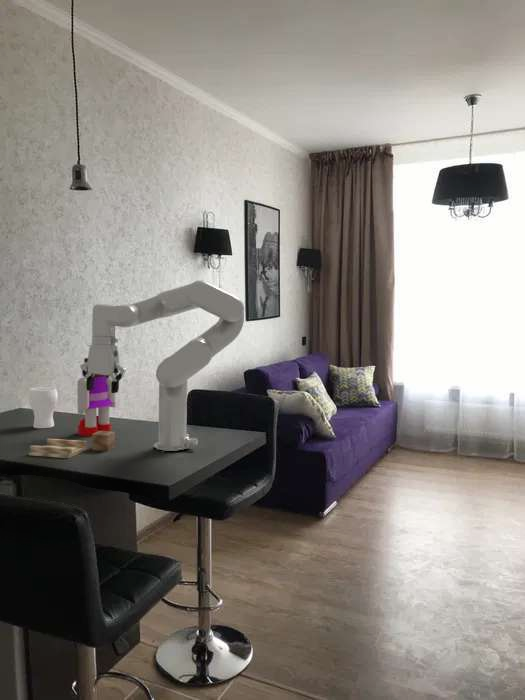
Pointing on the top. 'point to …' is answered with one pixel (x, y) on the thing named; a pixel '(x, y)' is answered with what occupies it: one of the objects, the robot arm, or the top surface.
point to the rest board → (59, 448)
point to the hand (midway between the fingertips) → (102, 391)
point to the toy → (95, 404)
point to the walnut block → (103, 440)
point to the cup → (43, 406)
